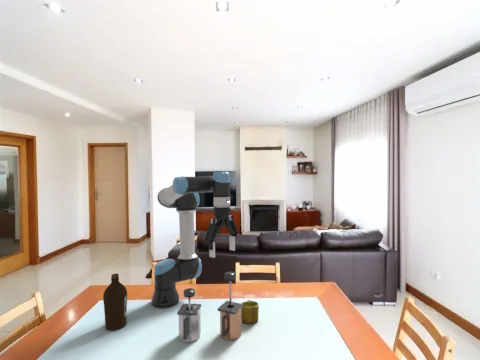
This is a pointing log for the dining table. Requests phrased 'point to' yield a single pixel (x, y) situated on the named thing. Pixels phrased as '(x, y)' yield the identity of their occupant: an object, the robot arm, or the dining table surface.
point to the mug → (249, 311)
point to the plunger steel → (189, 296)
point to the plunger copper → (230, 285)
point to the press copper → (230, 320)
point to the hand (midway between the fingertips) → (222, 253)
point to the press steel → (189, 323)
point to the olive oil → (115, 304)
